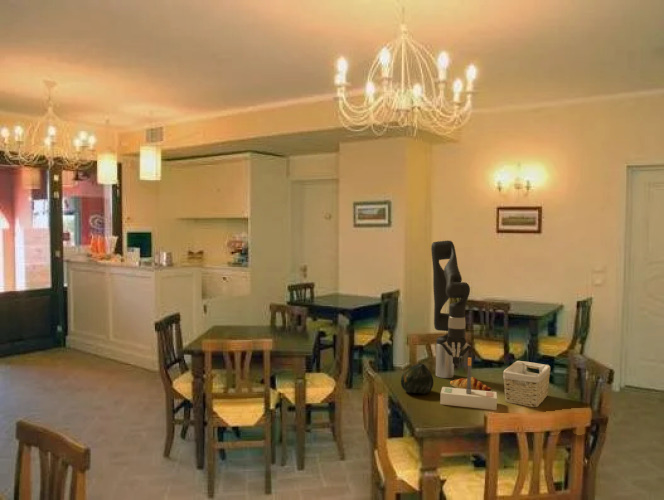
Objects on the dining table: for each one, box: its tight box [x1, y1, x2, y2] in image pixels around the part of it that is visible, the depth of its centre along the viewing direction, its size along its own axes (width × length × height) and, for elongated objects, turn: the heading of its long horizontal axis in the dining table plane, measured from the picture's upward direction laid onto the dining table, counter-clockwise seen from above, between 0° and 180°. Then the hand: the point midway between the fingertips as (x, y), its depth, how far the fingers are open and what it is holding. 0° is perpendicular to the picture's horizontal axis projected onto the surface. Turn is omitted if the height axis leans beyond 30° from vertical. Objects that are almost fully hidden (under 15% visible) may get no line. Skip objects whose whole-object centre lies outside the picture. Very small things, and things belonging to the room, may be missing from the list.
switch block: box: [439, 386, 498, 411], centre depth 249 cm, size 20×24×7 cm
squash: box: [400, 363, 434, 395], centre depth 259 cm, size 14×15×15 cm
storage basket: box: [502, 360, 551, 408], centre depth 252 cm, size 24×16×15 cm
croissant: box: [449, 376, 492, 391], centre depth 264 cm, size 21×10×8 cm, turn 52°
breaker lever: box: [466, 357, 472, 389], centre depth 243 cm, size 3×2×14 cm, turn 164°
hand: (455, 364), depth 245 cm, fingers closed
